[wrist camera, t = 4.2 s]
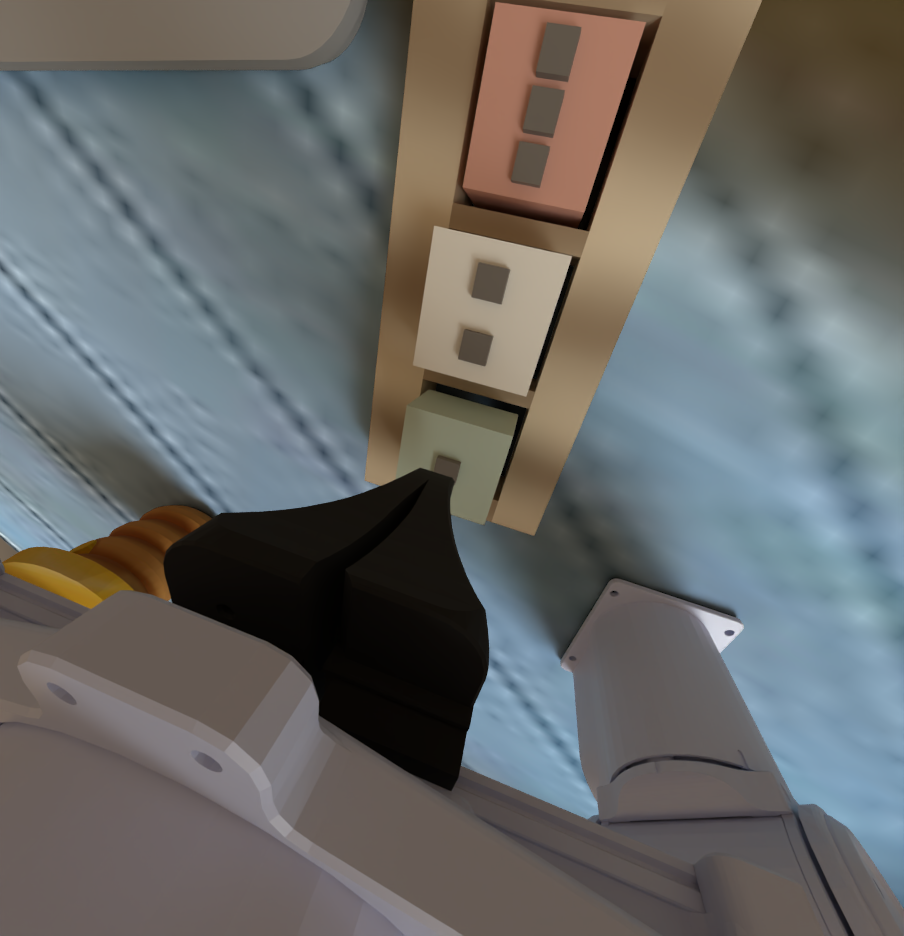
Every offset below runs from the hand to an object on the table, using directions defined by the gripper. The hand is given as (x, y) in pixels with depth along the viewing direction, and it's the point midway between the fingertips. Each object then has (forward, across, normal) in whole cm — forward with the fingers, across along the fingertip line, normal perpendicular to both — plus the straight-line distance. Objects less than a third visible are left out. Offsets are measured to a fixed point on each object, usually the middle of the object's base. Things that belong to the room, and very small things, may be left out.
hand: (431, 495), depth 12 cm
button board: (+8, 0, -6) cm, 10 cm away
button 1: (+5, 0, 0) cm, 5 cm away
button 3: (+8, 0, -12) cm, 14 cm away
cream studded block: (+5, 0, -6) cm, 8 cm away
